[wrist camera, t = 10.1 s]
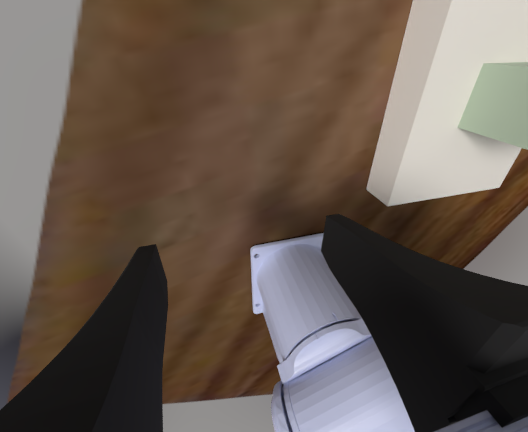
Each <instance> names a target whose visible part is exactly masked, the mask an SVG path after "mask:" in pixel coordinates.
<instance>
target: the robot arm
mask: <svg viewBox="0 0 528 432" xmlns="http://www.w3.org/2000/svg"><path fill="white" fill-rule="evenodd" d="M250 253H251V278H252V303H253V312H254V313H255V314H259V313H263V314H264V317H265V320H266V323H267V326H268V329H269V332H270V336H271V339H272V342H273V345H274V348H275V351H276V354H277V357H278V360H279V362H280V364H279V365H278V366H277V367H278V371H279V374H280V377H281V381H279V382H277V383H276V385H275V386H274V390H273V397H272V402H271V411H272V419H273V424H274V429H275V432H528V286H525V285H520V284H516V283H511V282H507V281H503V280H499V279H495V278H492V277H488V276H483V275H480V274H477V273H473V272H470V271H467V270H464V269H461V268H458V267H454V266H451V265H448V264H445V263H443V262H440V261H437V260H434V259H432V258H429V257H427V256H424V255H422V254H419V253H417V252H415V251H412V250H410V249H408V248H406V247H403V246H401V245H399V244H397V243H395V242H393V241H391V240H389V239H387V238H385V237H383V236H381V235H379V234H377V233H375V232H373V231H371V230H369V229H368V228H366V227H364V226H362V225H360V224H358V223H356V222H354V221H353V220H351V219H349V218H347V217H345V216H343V215H340V214H335V215H329V216H326V222H325V228H324V233H321V234H315V235H310V236H304V237H299V238H293V239H288V240H282V241H277V242H272V243H266V244H261V245H255V246H253V247H252V248H251V250H250ZM256 254H258V255H256ZM254 255H256V256H254ZM167 310H168V291H167V279H166V276H165V273H164V269H163V266H162V263H161V259H160V256H159V253H158V249H157V246H156V244H155V245H149V246H143V247H139V248H138V249H137V250H136V252H135V254H134V255H133V257H132V258H131V260H130V262H129V263H128V265H127V267H126V268H125V270H124V271H123V273H122V274H121V276H120V277H119V279H118V280H117V282H116V283H115V285H114V286H113V288H112V289H111V291H110V292H109V293H108V295H107V296H106V298H105V299H104V300H103V302H102V303H101V304H100V306H99V307H98V308H97V310H96V311H95V312H94V313H93V315H92V316H91V317H90V319H89V320H88V321H87V322H86V323H85V325H84V326H83V327H82V328H81V329H80V331H79V332H78V333H77V334H76V335H75V336H74V337H73V339H72V340H71V341H70V342H69V343H68V344H67V345H66V346H65V348H64V349H63V350H62V351H61V352H60V353H59V354H58V355H57V356H56V357H55V358H54V359H53V360H52V361H51V362H50V363H49V364H48V365H47V366H46V367H45V368H44V369H43V370H42V371H41V372H40V373H39V374H38V375H37V376H36V377H35V378H34V379H33V380H32V381H31V382H30V383H29V384H28V385H27V386H26V387H25V388H24V389H23V390H22V391H21V392H20V393H18V394H17V395H16V396H15V397H14V398H13V399H12V400H11V401H10V402H9V403H8V404H6V405H5V406H4V407H3V408H2V409H1V410H0V432H163V420H162V419H163V418H162V417H163V416H162V367H163V354H164V343H165V332H166V321H167Z"/></svg>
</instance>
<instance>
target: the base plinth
mask: <svg viewBox="0 0 528 432" xmlns="http://www.w3.org/2000/svg"><path fill="white" fill-rule="evenodd" d="M512 62H528V0H413V2H412V6H411V10H410V14H409V19H408V23H407V27H406V31H405V35H404V39H403V43H402V47H401V51H400V55H399V59H398V63H397V67H396V71H395V75H394V79H393V83H392V87H391V91H390V95H389V99H388V103H387V107H386V111H385V115H384V120H383V124H382V128H381V132H380V136H379V140H378V144H377V148H376V152H375V156H374V160H373V164H372V168H371V172H370V176H369V180H368V184H367V188H366V190H367V191H369V192H370V193H371V194H372V195H374V196H375V197H376V198H377V199H379V200H380V201H381V202H383V203H384V204H385V205H386V206H393V205H399V204H405V203H411V202H417V201H423V200H429V199H435V198H440V197H446V196H452V195H458V194H464V193H470V192H476V191H482V190H488V189H494V188H499V187H500V185H501V184H502V182H503V180H504V178H505V177H506V175H507V173H508V171H509V170H510V168H511V166H512V164H513V163H514V161H515V159H516V157H517V156H518V154H519V152H520V150H521V149H522V148H521V147H518V146H515V145H511V144H508V143H505V142H502V141H499V140H496V139H492V138H489V137H486V136H483V135H480V134H477V133H473V132H470V131H467V130H464V129H461V128H457V127H458V125H459V122H460V120H461V117H462V115H463V112H464V110H465V108H466V105H467V103H468V100H469V98H470V95H471V93H472V90H473V88H474V85H475V83H476V80H477V78H478V75H479V73H480V70H481V68H482V66H483V63H512Z"/></svg>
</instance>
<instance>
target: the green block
mask: <svg viewBox="0 0 528 432" xmlns="http://www.w3.org/2000/svg"><path fill="white" fill-rule="evenodd" d="M457 128H461V129H464V130H467V131H470V132H473V133H477V134H480V135H483V136H486V137H489V138H492V139H496V140H499V141H502V142H505V143H508V144H511V145H515V146H518V147H521V148H524V149H527V150H528V62H512V63H483V66H482V68H481V70H480V73H479V75H478V78H477V80H476V83H475V85H474V88H473V90H472V93H471V95H470V98H469V100H468V103H467V105H466V108H465V110H464V112H463V115H462V117H461V120H460V122H459V125H458V127H457Z"/></svg>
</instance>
